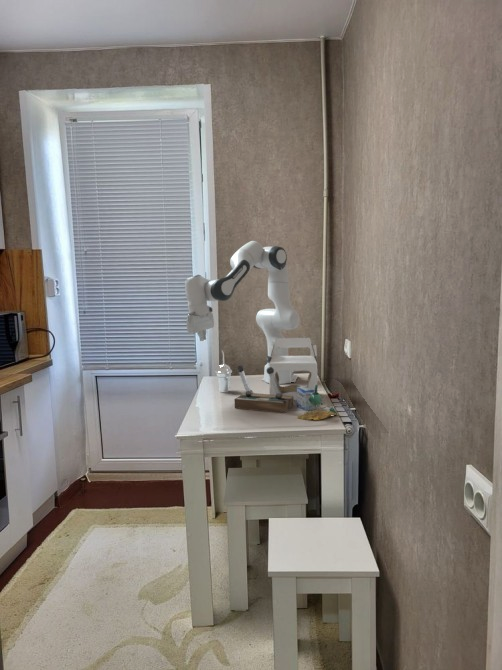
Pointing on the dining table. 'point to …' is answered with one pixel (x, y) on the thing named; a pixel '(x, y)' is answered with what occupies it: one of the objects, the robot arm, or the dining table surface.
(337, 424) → the dining table surface
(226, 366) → the cup with straw
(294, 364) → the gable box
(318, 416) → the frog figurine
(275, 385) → the lever
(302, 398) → the medicine box
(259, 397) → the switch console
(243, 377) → the lever
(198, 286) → the robot arm
